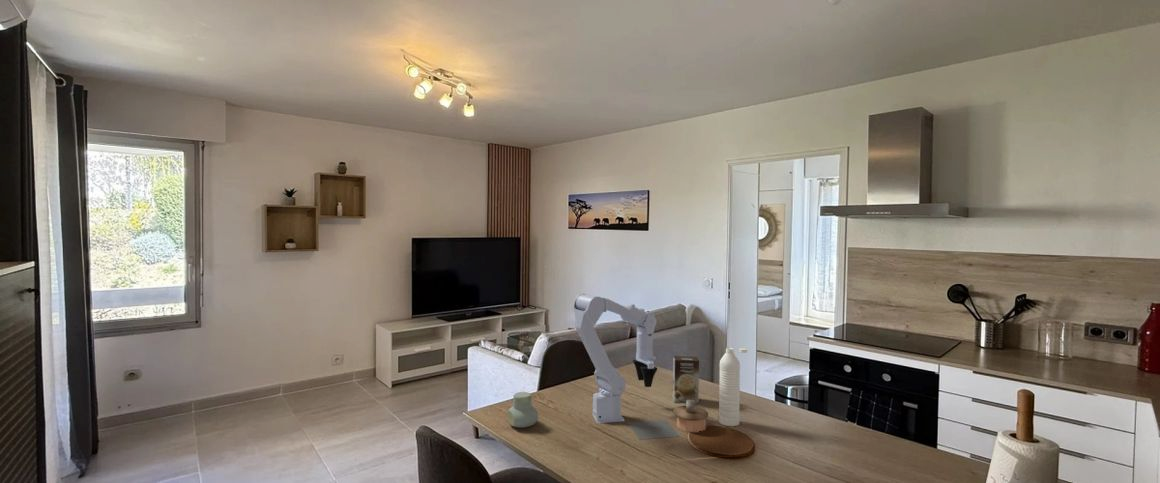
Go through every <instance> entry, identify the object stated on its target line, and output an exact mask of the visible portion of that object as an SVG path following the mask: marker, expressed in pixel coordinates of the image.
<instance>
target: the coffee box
mask: <svg viewBox="0 0 1160 483" xmlns="http://www.w3.org/2000/svg"><path fill="white" fill-rule="evenodd" d="M699 378H700V360H699V358H698V357H697V356H686V355H685V356H684V355H683V356H682V355H673V359H672V395H671V396H672V400H673V403H680V404H686V400H694V401H695V404H698V405H699V391H700V390H699V384H700V382H699V381H700V380H699Z"/></svg>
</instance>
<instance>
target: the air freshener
mask: <svg viewBox="0 0 1160 483" xmlns="http://www.w3.org/2000/svg"><path fill="white" fill-rule="evenodd" d="M512 396H513V405H512V406H511V407H510V408H509V409H508V410H507V411H506V418H507V421H508V423H509V424H510V426H512V427H514V428H517V429H518V428H519V429H524V428H525V429H526V428H529V427H531V426H533V425H535V424H536V423H537V422H538V420H539V414H538V413H539V412H538V411H537V408H536V407H535V406H533V404H532V394H531V393H530V392H527V391H520V392H515V393H514V394H513V395H512Z"/></svg>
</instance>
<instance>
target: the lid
mask: <svg viewBox="0 0 1160 483" xmlns="http://www.w3.org/2000/svg"><path fill="white" fill-rule="evenodd" d="M685 404H686V405H679V406H677V407H674V408H673V416H675V417H676V418H677V417H678V418H681V419H684V420H690V421H699V420H704V419H706V420H707V418H708V417H709V412H708V411H707V410H706V409H705V408H703V407H700V406H696V403H695V401H694V400H686V403H685Z"/></svg>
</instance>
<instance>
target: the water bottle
mask: <svg viewBox="0 0 1160 483" xmlns="http://www.w3.org/2000/svg"><path fill="white" fill-rule="evenodd" d="M738 349H739V353H742V354H743V353H744V354H745V353H748V349H747V348H744V347H739V348H738ZM740 369H741V364H740V360H739V358H738V357H737V356H736V355H735V351H734V348H733V347H726V348H725V353H724V354H723V355H722V357H721V359H719V387H718V389H719V393H718V395H719V396H718V397H719V399H718V400H719V404H718V406H719V410H718V414H719V415H718V421H719V423H720V425H723V426H727V427H735V426H736V427H737V426H739V425H740V397H741V396H740V392H741V388H740V385H741V384H740V382H741V380H740V379H741V378H740V377H741V376H740V375H741V373H740V372H741V371H740Z"/></svg>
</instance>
